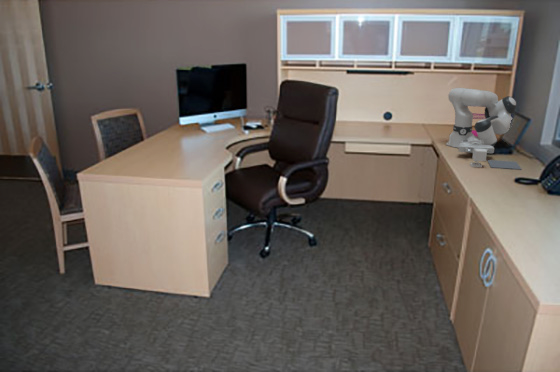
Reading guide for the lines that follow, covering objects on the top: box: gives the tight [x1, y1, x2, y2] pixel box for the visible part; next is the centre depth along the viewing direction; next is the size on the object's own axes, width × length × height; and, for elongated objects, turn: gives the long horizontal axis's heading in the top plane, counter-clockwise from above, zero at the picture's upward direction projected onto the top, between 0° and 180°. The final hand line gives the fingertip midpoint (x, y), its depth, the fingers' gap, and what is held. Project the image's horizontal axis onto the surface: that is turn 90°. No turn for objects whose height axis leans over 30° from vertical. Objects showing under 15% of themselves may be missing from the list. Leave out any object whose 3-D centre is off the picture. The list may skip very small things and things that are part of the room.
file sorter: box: [471, 112, 486, 137], centre depth 339 cm, size 17×25×16 cm
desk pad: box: [486, 159, 522, 171], centre depth 264 cm, size 16×16×1 cm
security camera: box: [469, 148, 488, 168], centre depth 262 cm, size 6×7×10 cm
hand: (477, 151), depth 272 cm, fingers open, 8 cm apart
